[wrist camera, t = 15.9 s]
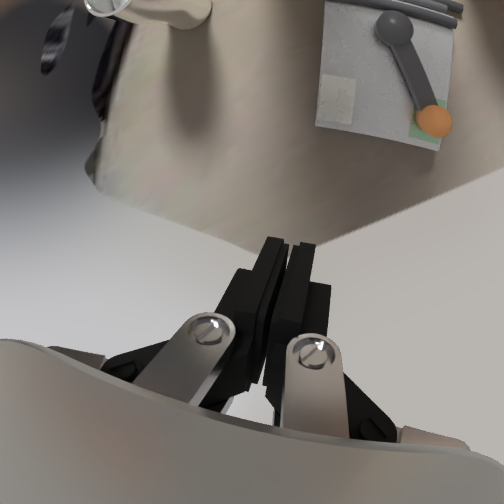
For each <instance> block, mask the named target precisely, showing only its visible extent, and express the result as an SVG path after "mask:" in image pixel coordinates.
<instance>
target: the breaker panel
mask: <svg viewBox="0 0 504 504" xmlns="http://www.w3.org/2000/svg"><path fill="white" fill-rule="evenodd" d="M392 1H396V2H400V3H404V4H408V5H412V6H416V7H419V8H423V9H426V10H430V11H433V12H436V13H439V14H442V15H445V16H448V17H451V18H454V17H452V16H449V15H446V14H443V13H440V12H437V11H434V10H431V9H427V8H424V7H421V6H417V5H413V4H410V3H406V2H402V1H398V0H392ZM386 11H389V10H387V9H382V8H377V7H372V6H367V5H361V4H355V3H349V2H342V1H334V0H325V10H324V27H323V42H322V55H321V68H320V79H319V91H318V101H317V111H316V121H315V126H318V127H325V128H331V129H337V130H343V131H349V132H355V133H360V134H365V135H370V136H375V137H380V138H385V139H389V140H394V141H398V142H403V143H407V144H411V145H415V146H419V147H423V148H427V149H431V150H434V151H438V152H439V148H440V143H441V138H436V137H433V136H431V135H429V134H427V133H426V132H424V131H422V130H421V129H420V128H419V127H418V125H417V123H416V112H417V108H416V105H415V102H414V100H413V97H412V95H411V92H410V90H409V87H408V85H407V83H406V80H405V78H404V76H403V73H402V71H401V69H400V67H399V64H398V62H397V60H396V58H395V56H394V54H393V52H392V49H391V47H390V46H388V45H386V44H384V43H383V42H382V41H380V40H379V38H378V37H377V35H376V33H375V23H376V21H377V20H378V18H379V16H380V15H381V14H382V13H384V12H386ZM403 14H404V13H403ZM405 15H406V16H407V17H408V18H409V19H410V21H411V22H412V24H413V28H414V33H413V36H412V38H411V41H412V43H413V46H414V48H415V50H416V52H417V54H418V56H419V59H420V61H421V63H422V65H423V68H424V70H425V72H426V75H427V77H428V80H429V82H430V85H431V87H432V90H433V93H434V95H435V98H436V101H437V103H438V106H440V107H443V108H444V109H446V107H447V100H448V92H449V84H450V75H451V64H452V50H453V30H454V28H451V27H448V26H445V25H442V24H439V23H436V22H432V21H429V20H426V19H422V18H419V17H415V16H412V15H408V14H405Z"/></svg>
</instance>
